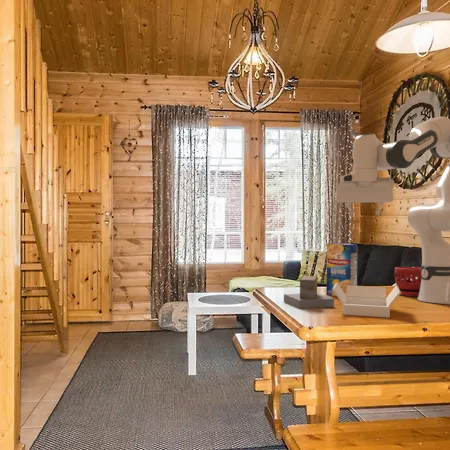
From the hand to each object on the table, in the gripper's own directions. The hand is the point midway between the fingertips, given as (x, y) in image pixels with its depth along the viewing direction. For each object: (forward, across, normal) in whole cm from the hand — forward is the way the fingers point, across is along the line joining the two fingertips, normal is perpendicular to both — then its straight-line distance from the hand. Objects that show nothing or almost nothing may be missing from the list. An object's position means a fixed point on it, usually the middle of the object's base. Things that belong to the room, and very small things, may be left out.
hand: (364, 214), depth 174 cm
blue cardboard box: (+34, +9, -25) cm, 43 cm away
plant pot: (+34, -19, -36) cm, 54 cm away
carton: (+34, -1, +7) cm, 35 cm away
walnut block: (+31, +20, +2) cm, 37 cm away
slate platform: (+34, +20, +2) cm, 40 cm away
